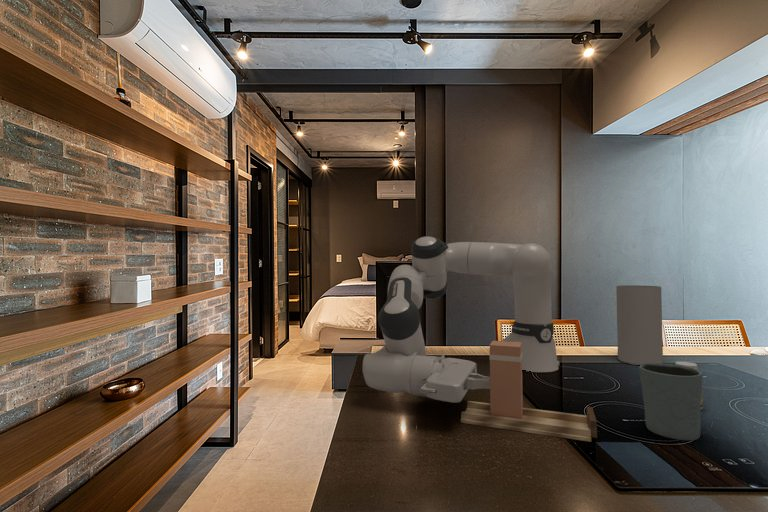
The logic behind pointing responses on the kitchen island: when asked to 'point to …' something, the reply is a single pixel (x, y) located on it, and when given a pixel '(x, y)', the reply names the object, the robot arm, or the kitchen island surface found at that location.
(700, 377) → the green cup
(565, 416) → the chute
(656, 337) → the cylinder vase
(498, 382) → the block
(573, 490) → the kitchen island surface
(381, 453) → the kitchen island surface
